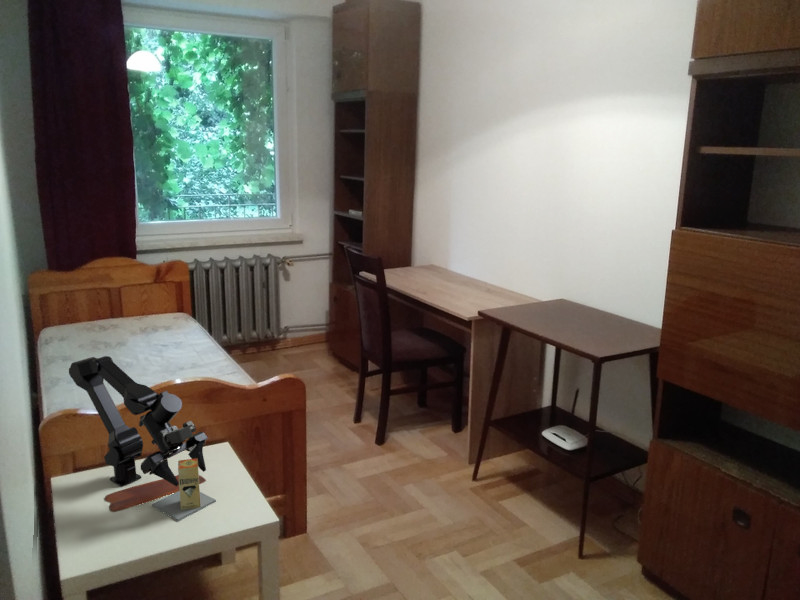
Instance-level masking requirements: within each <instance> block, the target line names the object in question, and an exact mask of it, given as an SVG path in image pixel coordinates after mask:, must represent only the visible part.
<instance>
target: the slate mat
mask: <svg viewBox="0 0 800 600" xmlns="http://www.w3.org/2000/svg"><path fill="white" fill-rule="evenodd" d="M216 502H217V499H215V498H213V497H212V496H210V495H207V494H205V493H204V492H202V491H200V507H198V508H192V509H185V510H181V503H180V491H178V492H176V493H174V494H171V495H168V496H165V497H162V498H160V499H159V500H157V501H155V502H153V503H150V504H151V507H152V506H153V507H152V508H154V509H155V508H156V509H155V510H157V509H158V511H159V510H160V511H159V512H161V511H162V512H161V513H163V512H164V513H165V515H166V514H167V516H168V515H169V516H168V517H170V516H171V517H170V518H171V519H173V518H174V520H175V521H177V522H180V521H183V520H184V519H185V518H187V516H188V517H189V515H190V516H191V515H194V514H195V513H197V512H199V511H201V510H203V509H205V508H207V507H209V506H211V505H213V504H215V503H216ZM210 504H211V505H210ZM208 505H209V506H208ZM206 506H207V507H206ZM164 513H163V514H164Z"/></svg>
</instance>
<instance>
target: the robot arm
mask: <svg viewBox="0 0 800 600" xmlns="http://www.w3.org/2000/svg"><path fill="white" fill-rule="evenodd" d="M68 374H69V376H70V378H71V379H72V380H73V382H74V383H75V385H76V386H77V387H79V388H81V389H82V390H84V391H85V392H87V395H88V396H89V399H90V400H91V402H92V404H93V406H94V407H95V408H94V409H96V412H97V414H98V415H99V417H100V419H101V421H102V424H103V425H104V427H105V429H106V431H107V433H108V442H107V446H108V448H109V450H108V452H107V453H106V454H105V455H104V461H105V464H107V465H109V466H110V467H113V474H114V476H111V477H109V481H110V482H112V483H114V484H115V485H118V486H119V487H123V486H126V485H129V484H131V483H133V482H135V481H137V480H139V479H142V475H140V474H138V473H137V468H136V467H137V466H136V459H137V458H140V457H141V456H142V453H143V448H144V442H143V437H141V435H140V434H139V432H138V430H137V428H136V427H135V426H133V427H129V426H128V425H126V423H125V421H124V419H123V417H122V415H121V413H120V411H119V409H118V408H117V405H116V404H115V402H114V400H113V398H112V396H111V395H110V392H109V391H108V389H107V387H106V384H105V383H104V381H105V382H107V384H109V385H110V386H111V387H112V388H113V389H114V390H115V391H116V392H118V394H119V395H120V396H121V397H122V398H123V405H124V406H125V408H127V410H128V411H129V412H130V413H131V415H134V416H139V415H141V414H142V415H141V416H140V419H139V422H138V423H139V424H138V426H139V427H140V428H141V427H143V426H144V427H145V428H146V430H147V432H148V433H149V435H150V437H151V438H152V441H151V444H152V445H156V446H157V447H158V449H159V450H158V451H155V452H153V453H151V454H149V455H147V456H146V458H144V460H143V461H142V462H141V463H140V470H141V471H142V474H144V475H146V474H149V475H150V476H151V475H154V476H156V477H159V478H161V479H165V480H166V481H168V482H170V483H171V484H173V485H175V486H178V485H179V483H178V481H177V479H176V477H175V476H176V475H175V474H174V473H173V471H172V469H171V468H170V466H169V461H168V459H169V458H170V459H171V458H172V457H174V456H177V455H178V454H180V453H182V452H184V451H187V452H189V453H188V456H189V457H190V459H195V458H198V469H200V471H202V472H203V473H204V472H206V471H207V468H206V462H205V458H204V453H203V451H204V450H203V447H204V445H206V441H207V440H208V436H207V434H206V433H205V432H204V431H199V432H196V431H197V428H196V426H195V424H194V423H193V421H192V420H188V421H186V422H184V423H183V424H182V427H181V428H178V426H176V425H172V424H171V422H170V421H172V420H173V418H174V417H175V416H176V415H177V414H178V413H179V412H180V411H181V409H182V407H183V402H182V400H181V398H180V397H178V396H177V395H176V394H174V393H169V391H168V390H164V391H161V392H160V393H158V392H156V391H154V389H152V388H151V387H149V386H147V385H145V384H141V383H137V381H134V379H132V377H130V376H129V375H128V374H127V373H126V372H125V371H124V370H123V369H121V368H120V367H119V366H118V365H117V364H116V363H115V362H114V360H113V358H112V357H111V356H109V355H104V356H101V357H95V356H91V357H87V358H84V359H81V360H78V361H73V362H71V364H70V367H69V368H68ZM143 413H146V414H143ZM194 432H195V434H193V433H194Z"/></svg>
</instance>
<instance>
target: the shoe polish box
mask: <svg viewBox="0 0 800 600" xmlns="http://www.w3.org/2000/svg"><path fill="white" fill-rule="evenodd" d="M177 462H178V463H177V466H178V467H177V471H178V472H177V473H178V475H179V489H180V503H181V510H185V509H192V508H198V507H200V492H201V490H200V484H199V476H200V474H199V467H198V458H195V459H192V458H187V459H180V460H178V461H177Z"/></svg>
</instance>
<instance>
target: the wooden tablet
mask: <svg viewBox="0 0 800 600" xmlns="http://www.w3.org/2000/svg"><path fill="white" fill-rule="evenodd" d="M174 476H175V477H176V479H177V481H178V483H179V475H174ZM205 482H207V480H206V478H205V477H203V476H202V475H199V485H201V484H204V483H205ZM178 491H180V489H179V485H178V486H175V485H173V484H171V483H170V482H168V481H166V480H165V479H163V478H161V479H158V480H154V481H150V482H146V483H142V484H138V485H135V486H130V487H127V488H125V489H124V488H123V489H120V490H117V491H114V492H110V493H108V494H106V495H105V496H104V500H105V501H106V502H107V503H110V504H109V507H108V509H109V511H110V512H113V513H115V512H120V511H123V510H127V509H131V508H133V507H136V506H137V505H138V506H140V505H139V504H141V505H143V504H142V503H144V504H147V503H150V502H153V501H156V500H158V498H159V499H162V498H164V497H163V496H165V497H167V496H166V495H168V496H170V494H171V495H172V493H176V492H178ZM161 497H162V498H161ZM155 499H156V500H155ZM152 500H153V501H152ZM149 501H150V502H149ZM146 502H147V503H146ZM138 506H137V507H138ZM130 507H131V508H130Z"/></svg>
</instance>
